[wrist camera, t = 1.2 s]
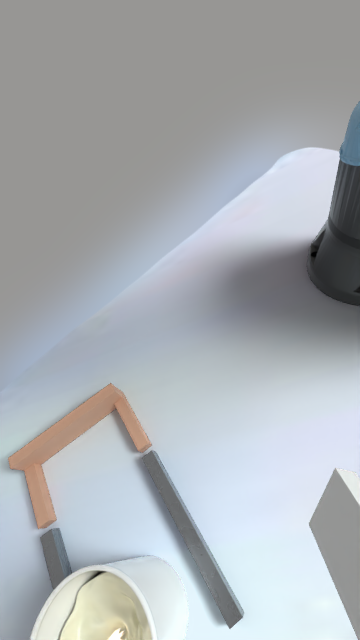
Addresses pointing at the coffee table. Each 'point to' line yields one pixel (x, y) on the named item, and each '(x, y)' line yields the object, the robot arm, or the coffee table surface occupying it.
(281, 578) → the coffee table surface
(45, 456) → the orange u-shaped bracket
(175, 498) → the guide rails
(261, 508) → the coffee table surface
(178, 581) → the candle holder
